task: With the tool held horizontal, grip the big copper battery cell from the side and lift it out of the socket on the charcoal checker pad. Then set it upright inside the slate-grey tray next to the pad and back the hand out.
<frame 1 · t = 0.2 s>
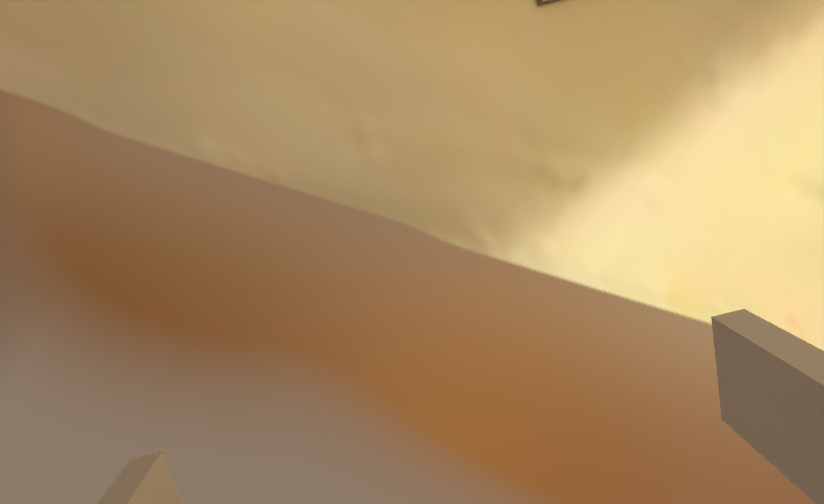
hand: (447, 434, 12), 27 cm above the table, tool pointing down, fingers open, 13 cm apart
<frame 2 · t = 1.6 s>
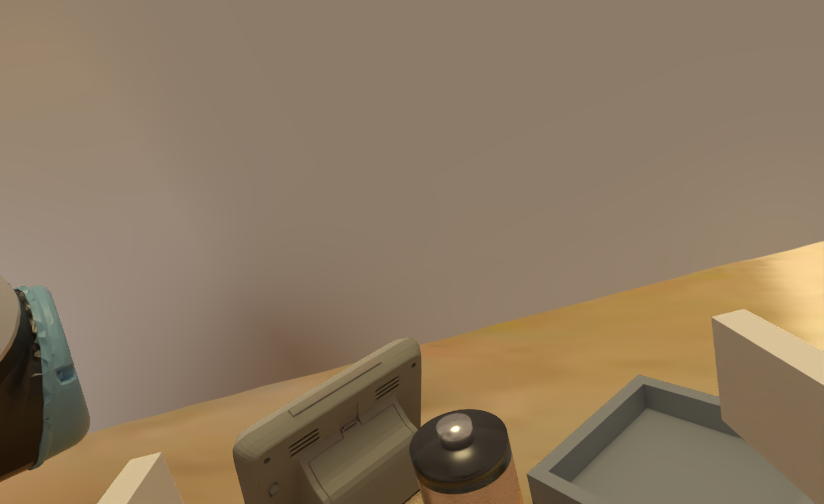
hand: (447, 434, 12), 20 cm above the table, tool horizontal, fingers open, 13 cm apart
tray: (689, 494, 33), on the table
digital clock: (360, 494, 41), on the table
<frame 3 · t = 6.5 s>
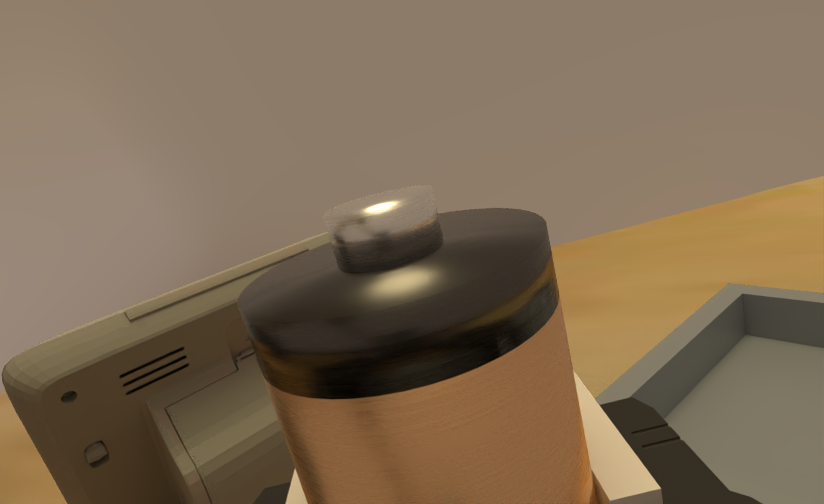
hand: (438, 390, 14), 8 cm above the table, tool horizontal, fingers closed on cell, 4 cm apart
digital clock: (282, 472, 25), on the table
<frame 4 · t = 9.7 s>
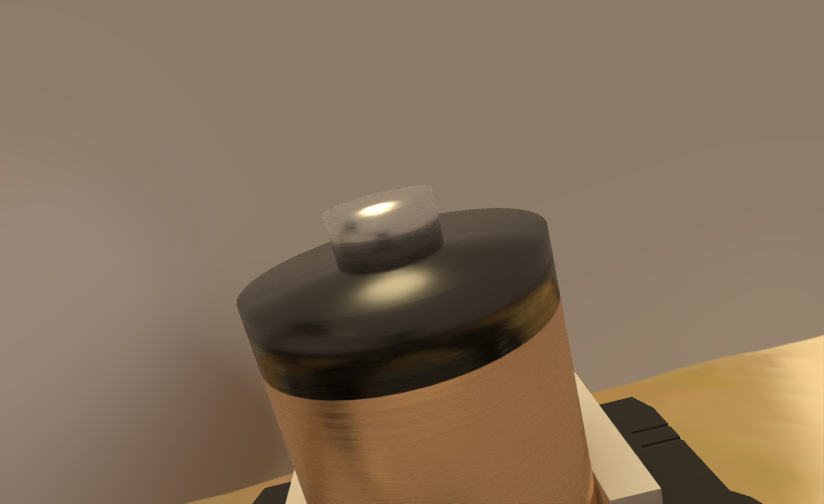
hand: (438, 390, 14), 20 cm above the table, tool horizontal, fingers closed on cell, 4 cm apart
when the fingers open (9 cm above the table, at t = 12.7 s): cell drops 1 cm, resting on tray.
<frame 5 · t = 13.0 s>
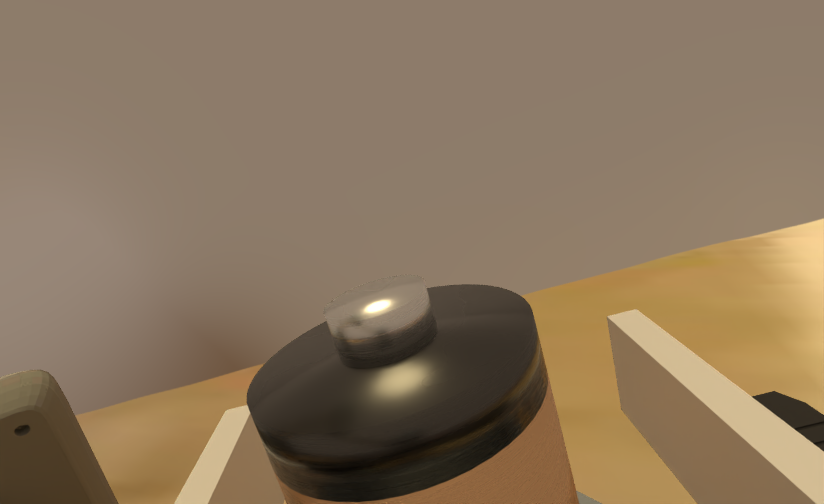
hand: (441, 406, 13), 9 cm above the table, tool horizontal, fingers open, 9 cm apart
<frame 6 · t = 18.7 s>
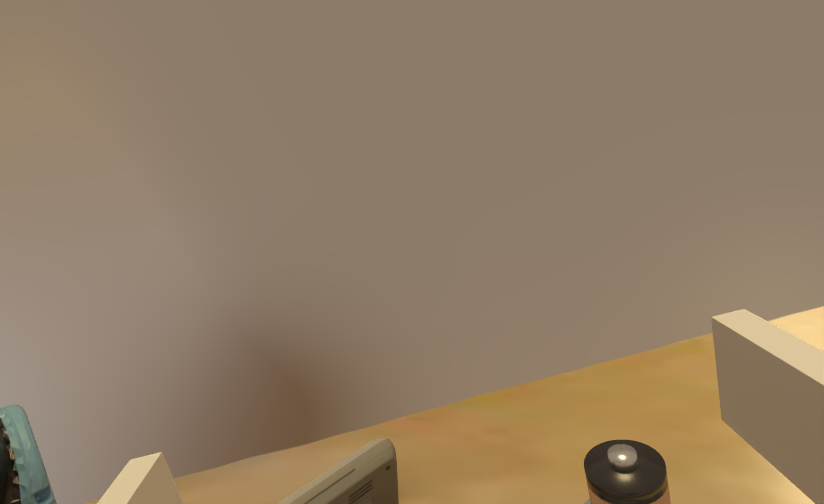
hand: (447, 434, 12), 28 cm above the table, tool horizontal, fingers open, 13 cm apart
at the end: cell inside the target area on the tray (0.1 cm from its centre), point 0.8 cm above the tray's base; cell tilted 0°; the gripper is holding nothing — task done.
